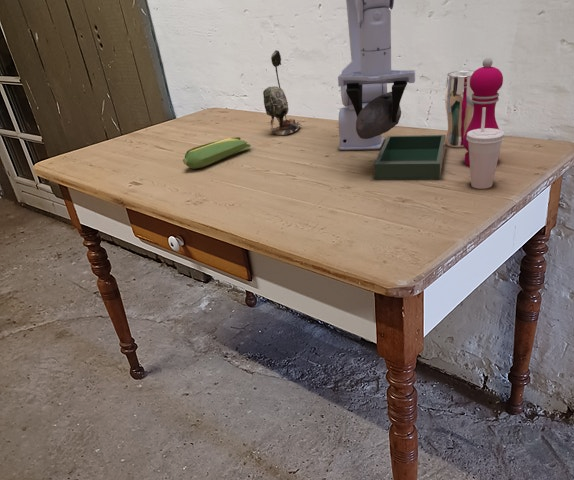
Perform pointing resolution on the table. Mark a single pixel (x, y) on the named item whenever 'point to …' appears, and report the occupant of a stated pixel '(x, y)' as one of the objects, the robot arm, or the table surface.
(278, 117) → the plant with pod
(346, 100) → the robot arm
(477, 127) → the pepper mill
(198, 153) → the edible corn
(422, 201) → the table surface
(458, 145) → the beer glass
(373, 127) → the perforated stone tool
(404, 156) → the dish
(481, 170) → the smoothie
